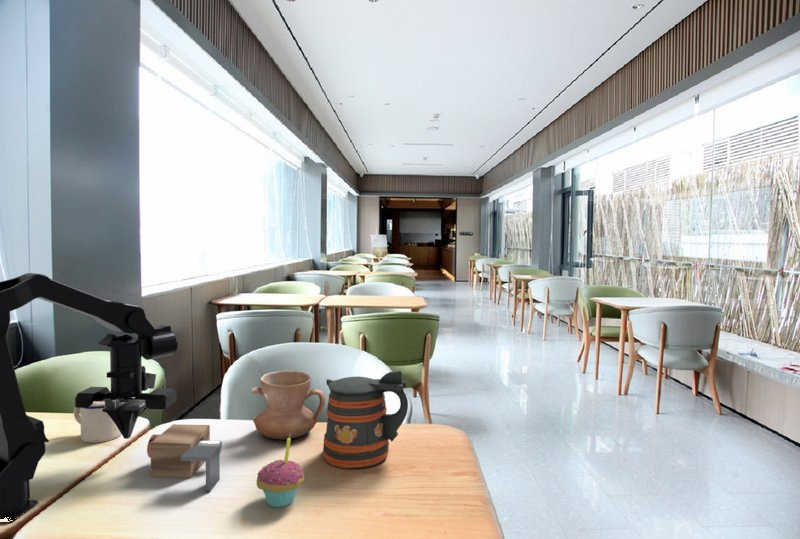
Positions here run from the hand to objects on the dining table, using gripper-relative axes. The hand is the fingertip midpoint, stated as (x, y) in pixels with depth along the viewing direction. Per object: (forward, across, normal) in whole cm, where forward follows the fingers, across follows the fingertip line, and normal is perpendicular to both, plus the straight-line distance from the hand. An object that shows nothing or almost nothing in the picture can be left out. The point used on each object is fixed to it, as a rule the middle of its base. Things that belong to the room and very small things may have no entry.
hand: (127, 437), depth 107 cm
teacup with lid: (+6, +16, -15) cm, 22 cm away
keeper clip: (+6, -18, +8) cm, 21 cm away
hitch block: (+6, -11, 0) cm, 13 cm away
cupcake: (+6, -35, +13) cm, 38 cm away
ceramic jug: (+6, -29, -19) cm, 35 cm away
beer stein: (+6, -49, -7) cm, 50 cm away
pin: (+4, -12, 0) cm, 13 cm away
